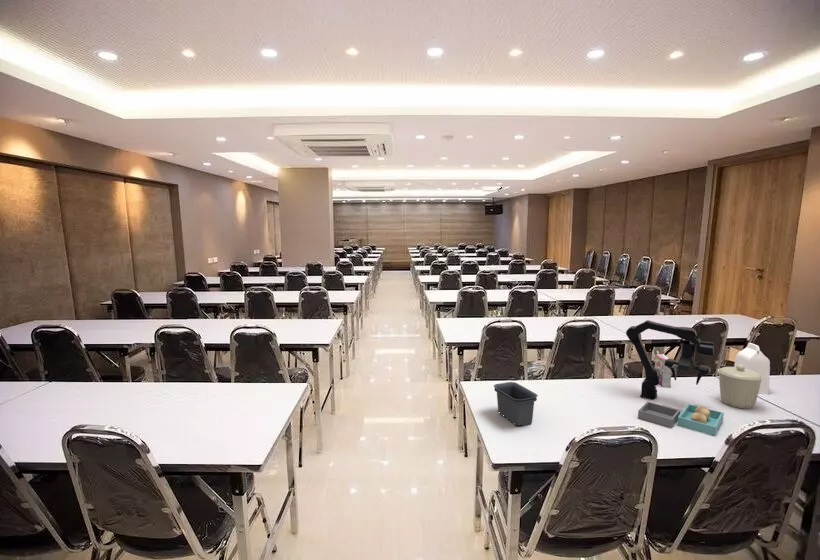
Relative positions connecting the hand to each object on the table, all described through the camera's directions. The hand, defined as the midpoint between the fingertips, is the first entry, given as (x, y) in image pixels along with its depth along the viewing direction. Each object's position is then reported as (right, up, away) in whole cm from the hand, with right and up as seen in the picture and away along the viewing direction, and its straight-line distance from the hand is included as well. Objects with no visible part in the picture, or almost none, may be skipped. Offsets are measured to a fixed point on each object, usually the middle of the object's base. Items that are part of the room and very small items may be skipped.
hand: (686, 382), depth 204 cm
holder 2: (-6, -14, -18) cm, 24 cm away
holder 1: (-22, -14, -13) cm, 29 cm away
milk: (+49, -9, +19) cm, 54 cm away
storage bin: (-90, -15, -10) cm, 92 cm away
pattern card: (-11, -13, -5) cm, 17 cm away
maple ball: (-3, -11, -15) cm, 19 cm away
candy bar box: (+6, -9, +29) cm, 31 cm away
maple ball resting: (-9, -11, -22) cm, 26 cm away
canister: (+27, -12, +1) cm, 30 cm away
